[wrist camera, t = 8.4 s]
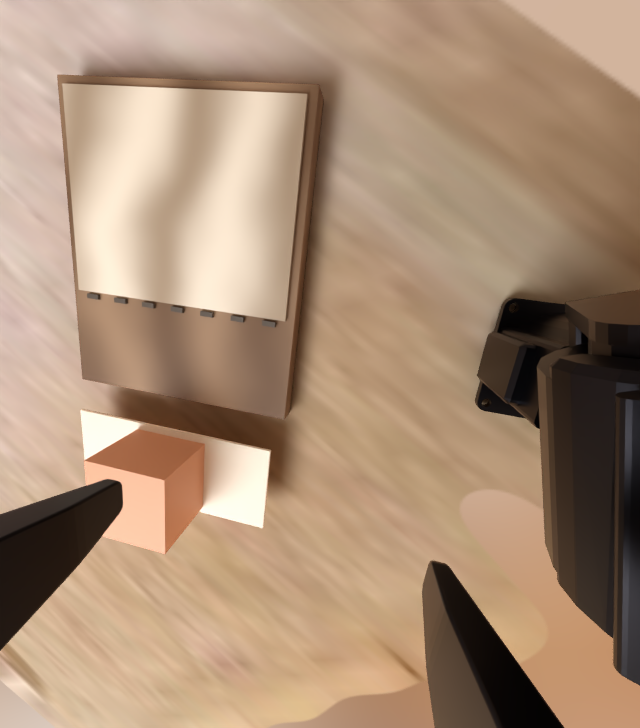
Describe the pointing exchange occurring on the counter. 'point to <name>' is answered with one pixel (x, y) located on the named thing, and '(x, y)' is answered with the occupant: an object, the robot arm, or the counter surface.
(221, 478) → the butter dish
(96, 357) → the board
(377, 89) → the counter surface
